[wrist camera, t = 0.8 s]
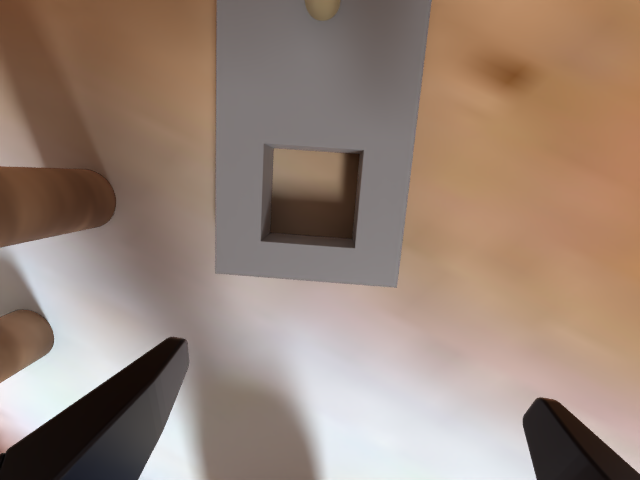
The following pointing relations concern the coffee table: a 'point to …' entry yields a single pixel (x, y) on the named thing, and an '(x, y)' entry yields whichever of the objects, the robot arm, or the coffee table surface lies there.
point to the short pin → (22, 341)
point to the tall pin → (51, 202)
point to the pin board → (316, 128)
